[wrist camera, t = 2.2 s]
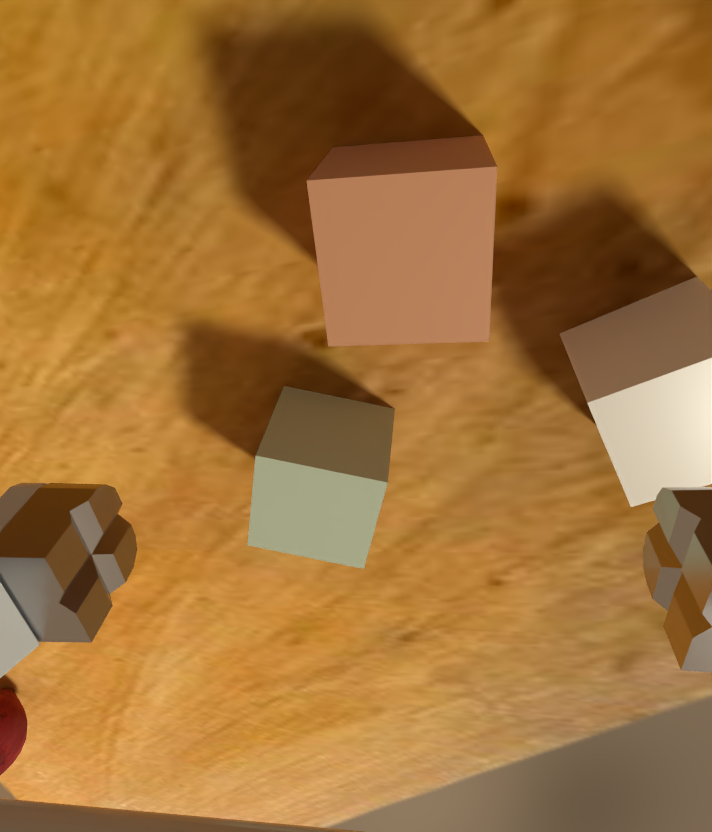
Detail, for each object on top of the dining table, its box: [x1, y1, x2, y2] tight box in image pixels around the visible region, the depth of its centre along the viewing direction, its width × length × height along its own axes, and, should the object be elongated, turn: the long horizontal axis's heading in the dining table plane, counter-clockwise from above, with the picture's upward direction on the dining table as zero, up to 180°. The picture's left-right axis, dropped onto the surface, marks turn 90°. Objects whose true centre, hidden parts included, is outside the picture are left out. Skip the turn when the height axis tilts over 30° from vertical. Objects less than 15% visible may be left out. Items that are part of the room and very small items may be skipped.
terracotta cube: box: [307, 135, 497, 346], centre depth 18 cm, size 5×5×5 cm
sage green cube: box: [248, 386, 395, 569], centre depth 25 cm, size 5×5×5 cm
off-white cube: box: [559, 277, 712, 507], centre depth 20 cm, size 5×5×5 cm
